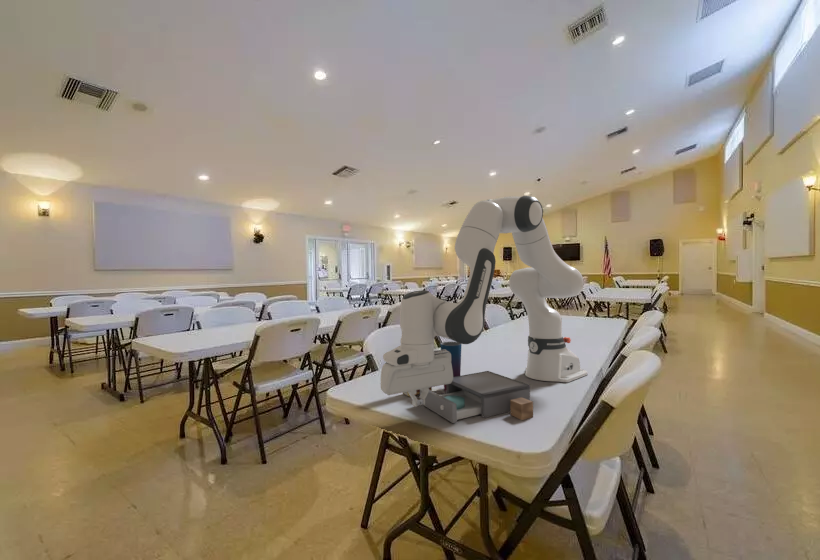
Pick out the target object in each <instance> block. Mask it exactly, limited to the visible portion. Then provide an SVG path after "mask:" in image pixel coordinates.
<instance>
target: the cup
mask: <svg viewBox="0 0 820 560" xmlns="http://www.w3.org/2000/svg"><path fill="white" fill-rule="evenodd" d="M462 345H463V344H461V343H458V342H456V341H443V342H440V350H443V349H446V350H447V351H449V352H450V353H451V364H452V370H453V377H456V376H461V371H462V369H461V367H462ZM447 353H448V352H447ZM443 389H444V391H445V392H446V385H443Z"/></svg>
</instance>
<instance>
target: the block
mask: <svg viewBox="0 0 820 560" xmlns="http://www.w3.org/2000/svg"><path fill="white" fill-rule="evenodd" d="M510 409H511V411H510V416H511V417H514V418H516V419H518V420H520V421H523V420H527V419H530V418H533V417H534V402H533V401H532V400H531V399H530V400H527V399H525V398H522V397H521V398H517V399H512V400H510Z"/></svg>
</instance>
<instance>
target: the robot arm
mask: <svg viewBox="0 0 820 560" xmlns="http://www.w3.org/2000/svg"><path fill="white" fill-rule="evenodd" d="M543 216H544V209H543V205H542V203H541V202H540V201H539V200H538V199H537V198H536V197H535V196H531V195H521V196H516V195H514V196H513V195H512V196H504V197H498V198H495V199H494V198H493V199H486V200H480V201H478V202H476V203H475V204H473V206H472V207H471V209H470V210H469V212H468V214H467V215H466V217H465V219H464V221H463V223H462V225H461V227H460V229H459V231H458V233H457V237H456V240H455V244H454V252H455V254H456V256H457V258H458V259H459V260H460V261H461V263H463V264H465V265H466V266H468V268H469V276H468V279H467V280H468V281H467V282H466V283H467V284H466V287H465V291H464V294H463V298H462V299H461V300H460V301H459V302H451V301H446V300H443V299H440V298H438V297H436V296H435V295H433V294H432V293H431V291H429V290H421V289H420V290H414V291H410V292H408V293H406V294H404V295H403V296H402V299H401V302H400V308H399V309H400V310H399V312H400V313H399V327H400V330H401V336H400V344H399V346H397V347H395V348H393V349H391V350H389V351H386V352H384V353H383V356H382V359H383V361H384V362H385V363H384V364H383V365H382V366H381V371H380V372H381V373H380V390H381V392H382V393H384V394H385V395H386V396H392V395H393V396H394V395H397V394H401V393H402V394H403V392H408V393H409V395H410V397H409V398H411V403H412V404H411V405H412V407H414V408H417V407H421V406H424V405H425V398H426V396H427V394H428V392H429V388H430V387H432V388H434V387H440V386H444V385H446V384H451V383H452V381H453V370H452V364H451V353H450V352H449V351H447V350H446V349H443V350H441V349H436V350H435V337H440V338H444V339H448V340H451V341H452V342H458V343H461V344H462V345H470V344H472V343H474V342H476V341H477V340H478V339H479V338H480V336H481V335H482V333H483V331H484V328H485V321H486V320H485V318H486V316H485V315H486V308H487V303H488V300H489V295H490V291H491V289H492V288H491V287H492V283H493V279H494V275H495V269H496V264H497V263H496V256H495V255H494V254H495V253H494V252H495V248H496V245H497V242H498V240H499V237H500V234H511V236H512V239H513V242H514V245H515V249H516V251H517V254H518V257H519V260H520V261H521V262H522V263H523V264H524V265H526V266H528V267H524V268H520V269H515V270H514V271H513V272H512V273H511V275H510V277H509V280H508V286H509V288H510V291H511V293H513V295H515V296H516V297H517V298H518V299H519V300H520V301H521V302H522V304H523V306H524V309H525V310H526V315H527V319H528V336H527V346H528V351H527V360H526V361H527V362H526V367H525V373H524V374H525V375H524V376H525V377H527V378H529V379H533V380H537V381H542V382H543V381H544V382H561V383H570V382H572V381H575V380H577V379H580V378H582V377H585V376H588V375H587V374H588V373H589V372H588V371H587V370H586V369H585V370H584V369H582V368H581V362H580V358H579V357H578V355H576V354H575V353H574V352H573V351H571V350H570V349H569V348H568V347H567V344H570V343H571V342H572V339H571V338H570V337H566V336H564V337H563V323H562V322H563V321H562V319H563V318H562V316H561V313H559V311H557V309H554V308H552V307H551V306H550V305H549V304H548V303H547V301H546V300H547V299H567V298H574V297H577V296H579V294H580V293H581V292H582V289H583V288H584V278H583V275H582V273H581V272H580V271H579V270H578V269H577V268H576V267H573V266H572V265H569V264H568V263H567V262H565V261H564V260H563V259H562V258H561V257H560V256H559V255H558V254H557V252H556V251H555V250H554V247H553V244H552V241H551V239H550V235H549V232H548V228H547V226H546V223H545V222H546V221H545V220H544V218H543ZM566 343H567V344H566ZM447 352H448V353H447ZM419 389H420V390H421V391H422V392H421V395H420V394H419V397H417V395H415V394H416V390H419Z"/></svg>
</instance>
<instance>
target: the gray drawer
mask: <svg viewBox="0 0 820 560" xmlns="http://www.w3.org/2000/svg"><path fill="white" fill-rule="evenodd" d="M421 392H422V391H421V390H420V394H419V396H420V395H421ZM446 396H461V397H463V398H464V399H465V407H464V408H462V409H456V403H454V402H452V401H450V400H448V399H446V398H444V397H446ZM423 406H424V407H426V408H427V409H429V410H430V411H432V412H434V413H436V414H437V415H438V416H440V417H442V418H444V419H445V420H446V421H448V422H450V423H452V424H454V423H457V422H458V420H462V419H467V418H471V417H474V416H478V415H482V405H481V397H479V396H477V395H475V394H473V393H470V392H468V391H466V390H464V389H462V391H458V392H453V393H448V394H446V393H444V394H443V393H442V394H438V393H436V392H434V391H433V390H432V391H431V390H429V392H428V394H427V396H426V398H425V405H423Z"/></svg>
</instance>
